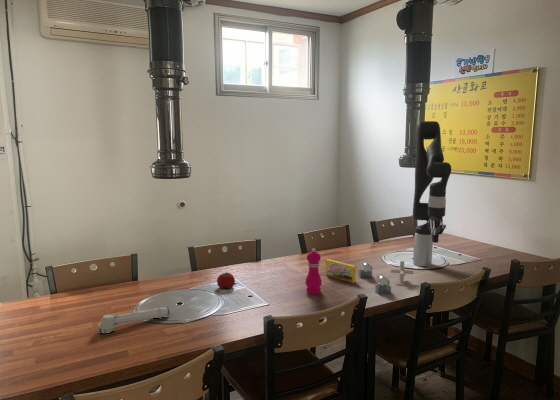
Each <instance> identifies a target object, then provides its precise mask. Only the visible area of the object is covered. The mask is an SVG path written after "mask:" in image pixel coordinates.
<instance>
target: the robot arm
mask: <svg viewBox="0 0 560 400" xmlns="http://www.w3.org/2000/svg"><path fill="white" fill-rule="evenodd" d="M415 134H416V135H415V136H416V137H415V138H416V139H415V145H416V150H415V151H416V152H415V153H416V155H415V166H414V167H415V168H414V196H413V202H412V203H413V204H412V217H413V219H414V221H415V220H416V221H426V222H425V223H423V224H421V225H418V226H417V225H416V226H415V228H414V244H413V253H412V255H413V256H412V263H413V265H415V266H417V267H418V266H419V267H423V266H428V267H431V266H432V265H433V247H434V245H433V244H434V243H437V244H438V242H439V236H440V235H443V233H444V231H445V229H446V228H447V226H446V224H444V223H443V222H444V220H443V217H445V216H446V204H447V197H446V192H447V186H448V181H449V179H450V176H451V173H452V165H451V164H450V163H449V162H446V161H445V157H444V153H443V149H442V148H443V147H442V135H441V127H440V123H439V122H438V121H435V120H431V121H429V120H428V121H427V120H426V121H425V120H424V121H418V122H417V123H416V130H415ZM424 140H425V141H426V140H428V141H429V140H432V141H431V143H429V145H428V146H427V148H426V147H425V145H424ZM435 178H436V179H440V180H439V181H436V182H433V180H434V179H435ZM427 188H429V192H428V194H429V195H428V201H427V202H421V201H420V200H421V198H422V196H423V195H424V193H425V191H426V190H427ZM430 265H431V266H430Z"/></svg>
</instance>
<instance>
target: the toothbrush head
mask: <svg viewBox="0 0 560 400" xmlns="http://www.w3.org/2000/svg"><path fill="white" fill-rule="evenodd" d="M170 312H171V311H170V308H169V307H168V306H166V307H165V306H162V307H160V306H158V307H156V308H151V309H145V310H138V311H133V312H128V313H121V314H115V315H114V314H105V315H103V316H102V317H101V320H100V322H99V323H98V324H97V328H98V333H99V332H100V333H99V334H101V333H103V334H106V333H108V332H111V331H113V330H115V329H117V326H118V325H119V324H126V323H133V322H136V323H137V322H142V321H143V322H144V321H149V320H148V319H152V320H154V319H153V318H159V317H160V319H162V318H161V317H164V316H168V315H169V316H170Z"/></svg>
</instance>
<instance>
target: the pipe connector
mask: <svg viewBox="0 0 560 400" xmlns="http://www.w3.org/2000/svg"><path fill="white" fill-rule="evenodd" d="M399 262H400V263H399V267H398V268H397V269H396V268H391V269H390V273H391V274H399V283H404V280H405V279H404V278H405V277H406V274H409V275H410V274H411V275H414V270H413V269H405V261H404V260H400V261H399Z"/></svg>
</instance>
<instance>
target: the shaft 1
mask: <svg viewBox="0 0 560 400" xmlns="http://www.w3.org/2000/svg"><path fill="white" fill-rule="evenodd" d="M359 267H360V269H357V271H358V272H357V274H358V277H359V278H363V279H364V278H371V277H372V278H373V266H372V265H370V263H369V262H367V261H366V260H365V261H364V260H363V261H361V262H360V264H359Z"/></svg>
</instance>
